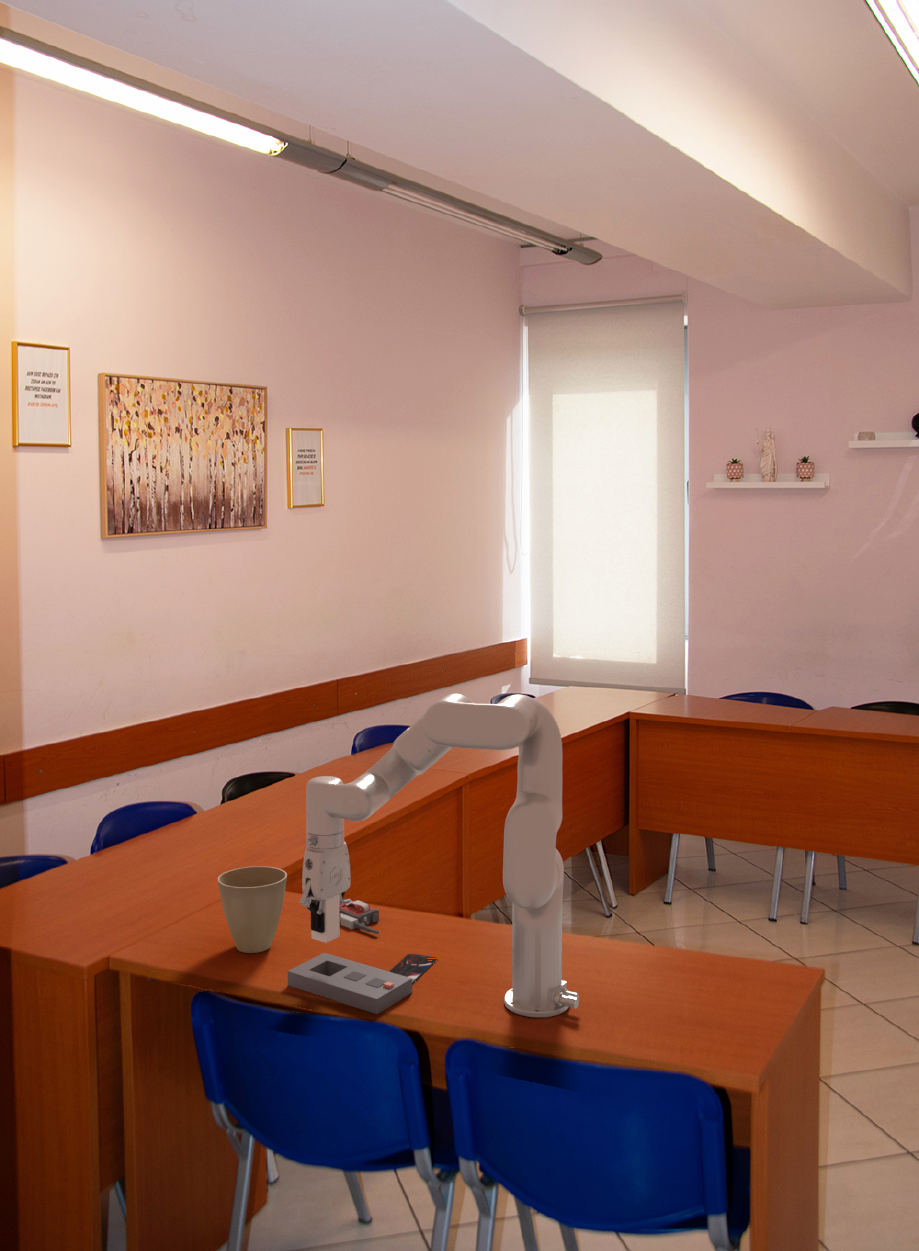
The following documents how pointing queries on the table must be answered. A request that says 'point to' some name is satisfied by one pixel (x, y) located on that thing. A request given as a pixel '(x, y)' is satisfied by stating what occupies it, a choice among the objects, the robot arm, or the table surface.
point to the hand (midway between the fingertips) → (325, 926)
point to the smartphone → (413, 966)
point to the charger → (329, 920)
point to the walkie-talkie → (358, 915)
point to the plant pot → (253, 905)
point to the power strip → (350, 982)
